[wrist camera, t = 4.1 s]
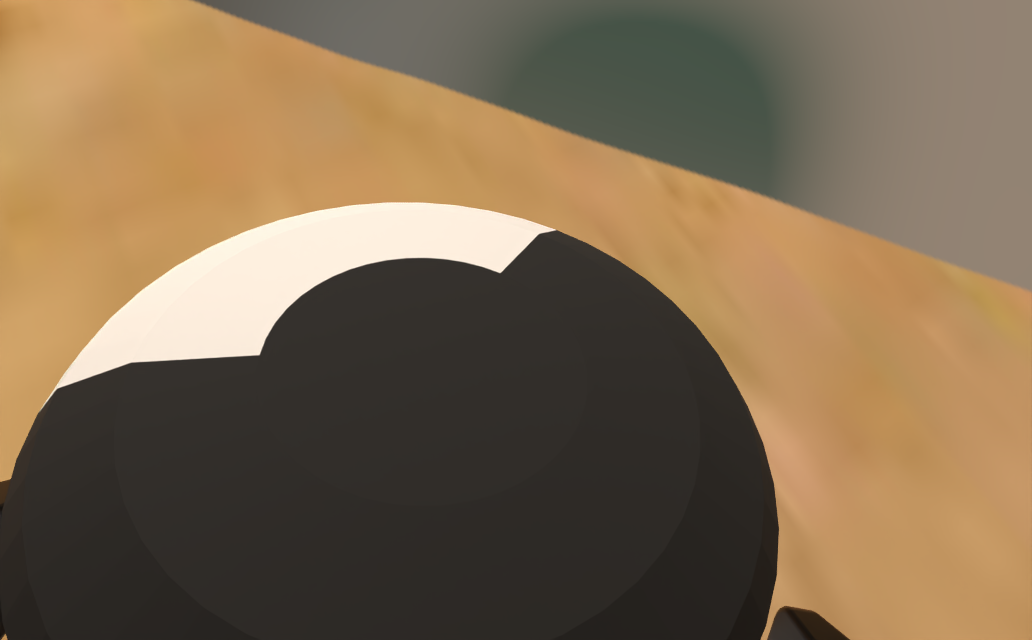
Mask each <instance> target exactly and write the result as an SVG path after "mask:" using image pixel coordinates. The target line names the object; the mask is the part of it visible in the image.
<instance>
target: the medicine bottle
mask: <svg viewBox="0 0 1032 640" xmlns="http://www.w3.org/2000/svg"><path fill="white" fill-rule="evenodd" d="M778 535H779V526H778V517H777V508H776V498H775V489H774V483H773V479H772V475H771V471H770V467H769V464H768V460H767V456H766V452H765V449H764V445H763V442H762V439H761V437H760V435H759V432H758V430H757V428H756V425H755V423H754V421H753V418H752V416H751V413H750V411H749V409H748V406H747V404H746V403H745V401H744V399H743V397H742V395H741V393H740V391H739V390H738V388H737V386H736V384H735V383H734V381H733V379H732V377H731V376H730V374H729V372H728V371H727V369H726V367H725V365H724V364H723V362H722V360H721V359H720V357H719V355H718V354H717V352H716V351H715V350H714V348H713V347H712V346H711V345H710V343H709V342H708V341H707V339H706V338H705V337H704V335H703V334H702V333H701V331H700V330H699V329H698V328H697V326H696V325H695V324H694V323H693V322H692V321H691V320H690V319H689V318H688V317H687V316H686V315H685V314H684V313H683V312H682V311H681V310H680V309H679V308H678V307H677V306H676V305H675V303H674V302H673V301H672V300H670V299H669V298H668V297H667V296H666V295H664V294H663V293H662V292H661V291H660V290H658V289H657V288H656V287H655V286H653V285H652V284H651V283H650V282H649V281H647V280H646V279H645V278H644V277H642V276H641V275H639V274H638V273H636V272H635V271H633V270H632V269H630V268H629V267H627V266H626V265H624V264H623V263H621V262H620V261H618V260H617V259H615V258H613V257H611V256H609V255H608V254H606V253H604V252H602V251H600V250H598V249H597V248H595V247H593V246H591V245H589V244H587V243H585V242H583V241H580V240H578V239H576V238H574V237H571V236H569V235H567V234H564V233H562V232H560V231H557V230H555V229H552V228H549V227H546V226H543V225H540V224H537V223H534V222H531V221H528V220H525V219H521V218H517V217H513V216H509V215H505V214H501V213H497V212H493V211H488V210H482V209H475V208H469V207H463V206H456V205H444V204H432V203H376V204H363V205H351V206H345V207H339V208H332V209H326V210H320V211H314V212H310V213H306V214H302V215H298V216H294V217H290V218H286V219H282V220H278V221H275V222H273V223H270V224H267V225H264V226H261V227H258V228H255V229H252V230H249V231H246V232H243V233H241V234H239V235H237V236H234V237H232V238H230V239H227V240H225V241H223V242H221V243H218V244H216V245H214V246H212V247H209V248H208V249H206V250H204V251H202V252H200V253H199V254H197V255H195V256H193V257H192V258H190V259H188V260H186V261H184V262H183V263H181V264H179V265H177V266H176V267H174V268H173V269H171V270H170V271H168V272H167V273H166V274H164V275H163V276H161V277H160V278H158V279H157V280H156V281H154V282H153V283H151V284H150V285H149V286H147V287H146V288H144V289H143V290H142V291H140V292H139V293H138V294H137V295H136V296H135V297H134V298H133V299H131V300H130V301H129V302H128V303H127V304H126V305H125V306H124V307H122V308H121V309H120V310H119V311H118V312H117V313H116V314H115V315H113V316H112V317H111V318H110V319H109V320H108V321H107V323H106V324H105V325H104V326H103V327H102V328H101V329H100V331H99V332H98V333H97V334H96V335H95V336H94V338H93V339H92V340H91V341H90V342H89V343H88V344H87V346H86V347H85V348H84V349H83V350H82V351H81V353H80V354H79V355H78V356H77V358H76V359H75V360H74V362H73V363H72V364H71V366H70V367H69V368H68V369H67V371H66V372H65V373H64V375H63V376H62V378H61V379H60V381H59V383H58V384H57V386H56V387H55V389H54V390H53V392H52V393H51V395H50V396H49V398H48V399H47V401H46V402H45V404H44V405H43V407H42V408H41V410H40V411H39V413H38V415H37V417H36V419H35V421H34V423H33V425H32V428H31V430H30V432H29V434H28V436H27V438H26V440H25V443H24V445H23V447H22V449H21V451H20V453H19V455H18V458H17V460H16V463H15V467H14V471H13V474H12V478H11V481H10V485H9V488H8V492H7V495H6V499H5V502H4V506H3V509H2V519H1V529H0V602H1V613H2V623H3V626H4V629H5V632H6V636H7V639H8V640H760V639H761V637H762V634H763V632H764V629H765V627H766V623H767V618H768V614H769V609H770V604H771V600H772V595H773V590H774V586H775V581H776V576H777V556H778Z"/></svg>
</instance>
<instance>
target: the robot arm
mask: <svg viewBox="0 0 1032 640" xmlns="http://www.w3.org/2000/svg"><path fill="white" fill-rule="evenodd" d="M10 481H11V479H10V480H6V481H3V482H0V529H1V519H2V509H3V506H4V502H5V499H6V495H7V492H8V488H9V485H10ZM5 634H6V632H5V629H4V626H3V623H2V613H1V602H0V640H1V639H2V637H3V636H4V635H5ZM767 640H850V639H848V638H847V637H846V636H845V635H843V634H842V633H841V632H840V631H838V630H837V629H836V628H835V627H834V626H832V625H831V624H830V623H829V622H827V621H826V620H825V619H824V618H822V617H821V616H820V615H819V614H817V613H816V612H814V611H811V610H806V609H800V608H795V607H789V606H784V607H782V608H780V609H779V610H778V612H777V613H776V616H775V618H774V621H773V624H772V627H771V630H770V633H769V636H768V639H767Z"/></svg>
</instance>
